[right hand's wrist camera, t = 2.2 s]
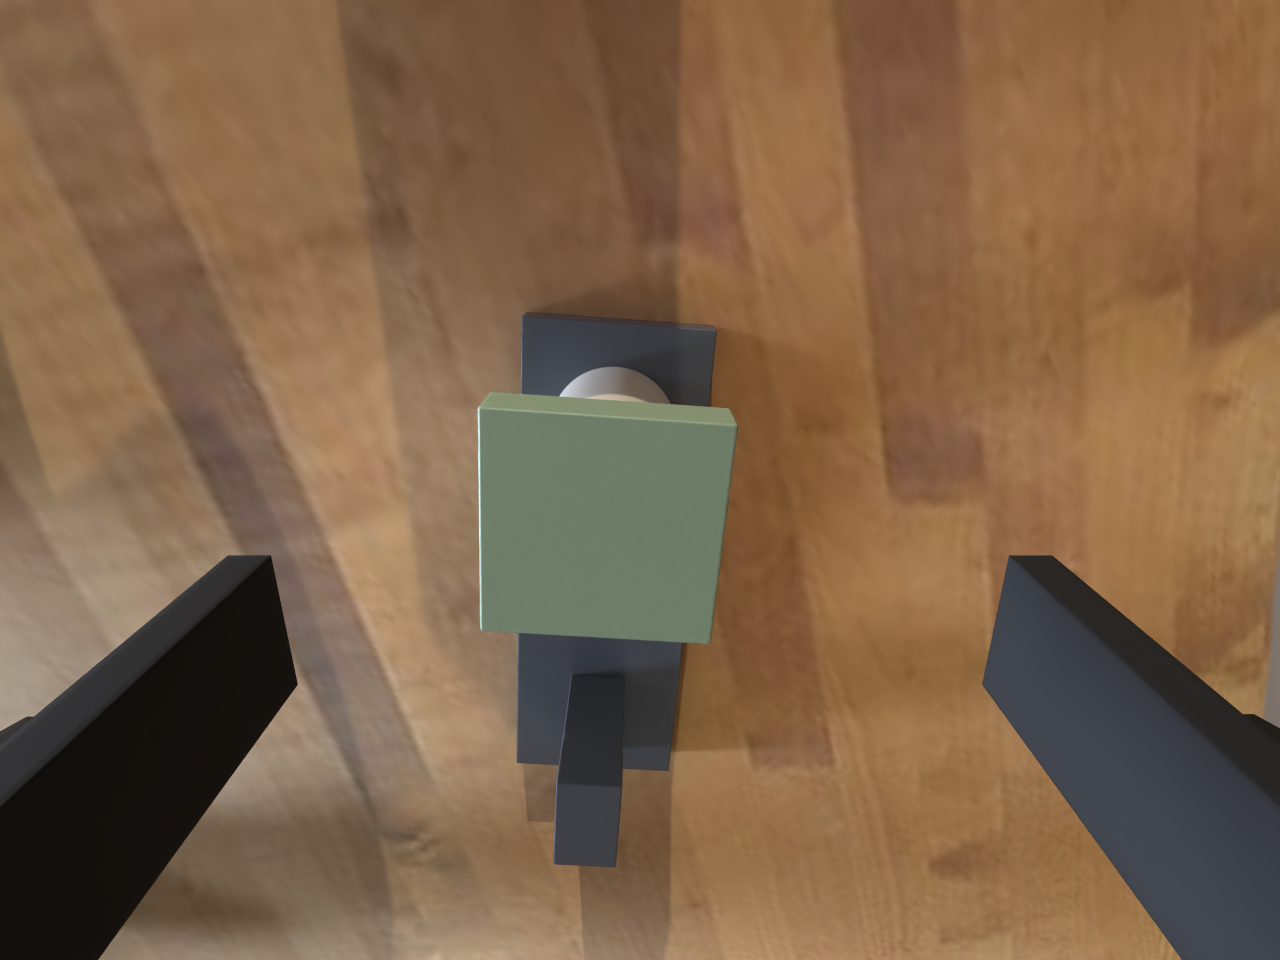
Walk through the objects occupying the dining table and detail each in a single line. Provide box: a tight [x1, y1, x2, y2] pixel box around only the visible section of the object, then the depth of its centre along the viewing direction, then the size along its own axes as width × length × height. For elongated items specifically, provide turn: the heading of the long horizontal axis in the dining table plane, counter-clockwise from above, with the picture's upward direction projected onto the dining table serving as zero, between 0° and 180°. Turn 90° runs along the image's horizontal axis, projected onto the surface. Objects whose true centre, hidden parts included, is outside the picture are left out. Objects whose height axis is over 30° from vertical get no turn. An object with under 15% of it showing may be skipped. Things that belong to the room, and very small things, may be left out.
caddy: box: [517, 312, 717, 867], centre depth 33 cm, size 9×26×12 cm, turn 176°
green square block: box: [478, 392, 738, 644], centre depth 25 cm, size 8×8×4 cm
